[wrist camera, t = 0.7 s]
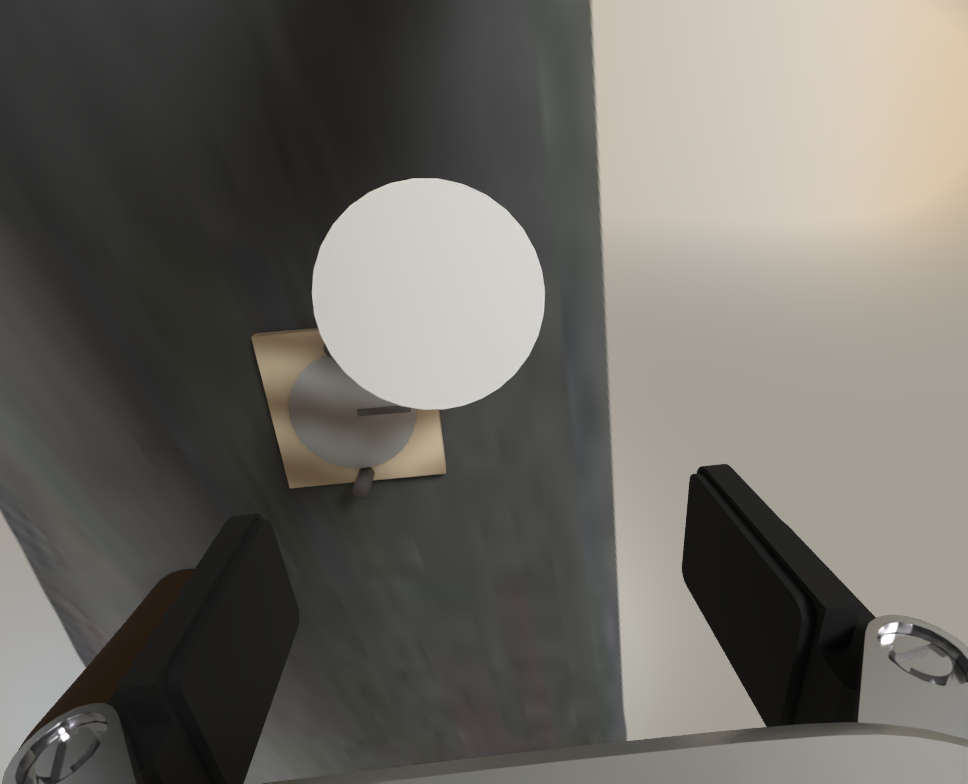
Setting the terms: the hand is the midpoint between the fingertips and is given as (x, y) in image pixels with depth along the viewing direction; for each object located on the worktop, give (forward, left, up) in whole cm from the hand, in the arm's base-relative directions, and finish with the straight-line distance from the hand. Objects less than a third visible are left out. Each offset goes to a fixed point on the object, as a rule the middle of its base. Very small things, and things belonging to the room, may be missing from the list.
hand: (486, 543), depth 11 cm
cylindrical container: (-4, -1, -32) cm, 32 cm away
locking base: (+9, -10, -31) cm, 34 cm away
